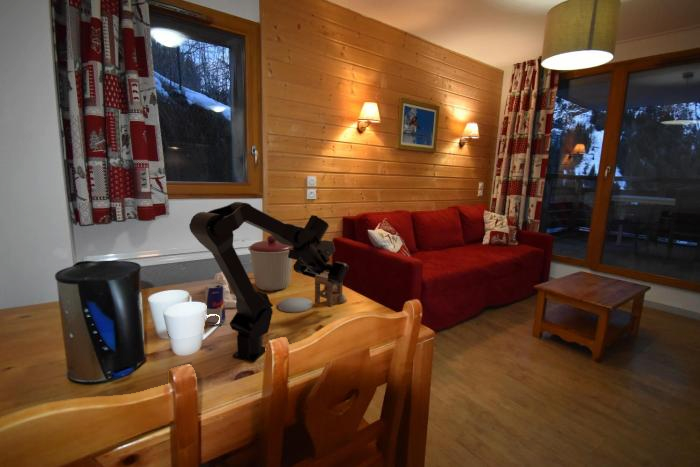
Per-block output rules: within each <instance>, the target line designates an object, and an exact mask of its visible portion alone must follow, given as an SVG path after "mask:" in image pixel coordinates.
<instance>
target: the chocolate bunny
mask: <svg viewBox="0 0 700 467" xmlns="http://www.w3.org/2000/svg"><path fill="white" fill-rule="evenodd" d="M324 289H325V285H323V290H324ZM333 290H336V291H337V284H335V285H333ZM333 294H335V293H333ZM346 302H348V298H347V297H346V295H345V293H344V292H343V291H342V302H340V303H339V302H337V297H334V298H332V305H341V304H345V303H346ZM325 303H326V304H327V299H325Z"/></svg>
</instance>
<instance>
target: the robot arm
mask: <svg viewBox="0 0 700 467" xmlns="http://www.w3.org/2000/svg"><path fill="white" fill-rule="evenodd" d="M244 223H246V224H248V225H251V226H253V227H255V228H257V229H259V230H260V231H264V232H266V233H268V234H270V235H272V236H273V237H274V239H276V240H277V241H278V242H280V243H281V244H284V245H289V246H293V247H292V249H290V250H289V254H288V258H291V259H293V260H296V261H295V263H294V264H293V271H295V273H297V274H301V275H303V276H307V277H309V278H313V279H315V275H316V274H317V275H320V274H321V273H322V274H323V272H325V271H326V272H329V273H328V280H327V281H329V282H332V283H335V284H338V285H339V284H340V283H342V281H343V280H344V279H345V277H346V275H347V273H348V271H349V269H350V267H349V265H348V264H347V263H345V262H341V261H337V260H336V261H334V262H333V264H330V263H329V262H330V260H331V259H330V257H331V256H332V255H333V253H335V252H336V250H337V249H336V247H335V245H334V243H335V242H334V241H330V240H326V239H325V240H324V239H323V237H324V236H325V235H326V233H327V231H328V230H329V227H330V225H329V223H328V222H326V221H325V220H324V219H322V218H320V217H319V216H318V215H314V214H311V215H310V217H309V219H308V221H307V223H306V224H305V226H304V227H303V226H299V225H296V224H291V223H286V222H283V221H280V220H279V219H277V218H276V217H273V216H271V215H269V214H268V213H265V212H263V211H262V210H260V209H257V208H256V207H254V206H252V205H251V204H250V203H248V202H243V201H242V202H241V201H234V202H232V203H230V204H228V205H225V206H222V207H221V206H220V207H218V208H215V209H211V210H209V211H200V212H197V213H195V214H194V215H193V216H192V218H191V220H190V222H189V230H190V233H191V234H192V235H193V237H195V239H196V240H197V241H198V242H199V243H200V244H201V245H202V246H203V247H204V248H205V249H207V251H209V252H210V253H211V255H212V256H213V257H214V259H215V262H216V263H217V265H218V268H219V269H220V272H223V274H224V276H225V278H226V280H227V282H228V283H227V284H228V286H229V288H230V290H231V291H232V292H233V294H235V296H236V308H235V309H236V313H235V314H234V316H233V318H231V321H230V322H229V326H230V328H231V330H233V331H236V333H237V335H236V341H237V343H236V345H237V346H236V348H237V350H236V352H234V353H233V354H232V358H233V359H239V360H244V361H247V362H256V361H257V360H258V359H260V357H261V356H262V355H263V354H265V353H266V351H265V347H266V346H263V345H264V344H263V336H264V335H265V334H267V333H268V331H269V330H270V324H271V321H272V317H273V316H272V315H273V314H274V313H273V312H274V311H273V308H272V307H274V304H272V303H271V302H270V299H269V296H268V294H267V293H265V292H262V291H259V290H256V289H255V287H254V285H253V283H252V280H251V279H250V277H249V275H248V273H247V272H246V270H245V267H244V265H243V262H241V259H240V257H239V255H238V254H237V252H236V250H235V247H234V245H233V244H234V243H233V242H234V232H235V231H236V230H238V229H239V228H240V227H241V226H242V225H243V224H244ZM342 284H343V283H342Z"/></svg>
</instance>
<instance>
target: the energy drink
mask: <svg viewBox="0 0 700 467" xmlns="http://www.w3.org/2000/svg"><path fill="white" fill-rule="evenodd" d="M204 287H205V288H204V294H205V295H204V296H205V297H204V298H205V306H206V305H207V315H209V314H217V315H219V316H220V323H219V325H223V324H224V323H225V322H226V321H227V320H226V318H227V317H226V308H225V298H224V286H223V283H220V282H209V283H207V284H206V285H205V286H204ZM218 320H219V317H218V316H216V315H215V316H210V317H208V318H207V317H206V324H207V325H208V326H211V325H215V324H216V323H217V322H218ZM219 325H218V326H219Z"/></svg>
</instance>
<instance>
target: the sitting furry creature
mask: <svg viewBox="0 0 700 467" xmlns="http://www.w3.org/2000/svg"><path fill="white" fill-rule="evenodd" d="M214 281H215V282H220V283H223V286H224V298H225V309H236V301H237V298H236V296H235V294H234V293H230V292H231V291H230V290H231V289H230V286H229V283H228V282H227V280H226V278H225V276H224V274H223V272H222V271H219V272H218V273H215V275H214Z"/></svg>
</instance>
